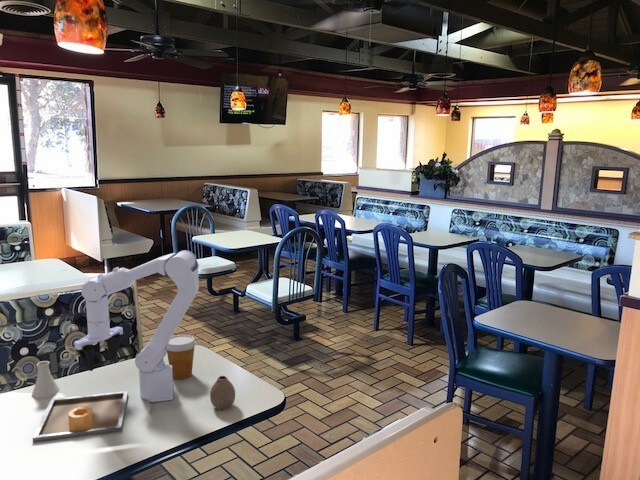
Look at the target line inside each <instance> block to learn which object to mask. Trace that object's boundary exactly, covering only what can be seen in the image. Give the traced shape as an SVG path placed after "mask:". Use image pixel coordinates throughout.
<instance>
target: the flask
mask: <svg viewBox="0 0 640 480" xmlns="http://www.w3.org/2000/svg"><path fill="white" fill-rule="evenodd" d="M36 367H37V377H36V380H35V384H34V387H33V391H32V392H31V397H32V398H36V399H48V398H50V397H53V396H56V395H57V394H58V393H59V392H60V390H61V389H60V387H59V386H58V384H57V382H56V381H55V379H54V377H53V376H52V374H51V370H50V361H48V360H42V361H39V362H37V364H36Z"/></svg>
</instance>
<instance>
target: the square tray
mask: <svg viewBox="0 0 640 480" xmlns="http://www.w3.org/2000/svg"><path fill="white" fill-rule="evenodd" d="M118 397H123V399H122V404H121V409H120V414H119V419H118V423H117V426H110V427H102V428H94V429H86V430H78V431H70V432H61V433H53V434H45V435H41V433H42V431H43V429H44V427H45V425H46V423H47V420H48V418H49V416H50V414H51V412H52V410H53V407H54V405H55V404H63V403H72V402H81V401H90V400H99V399H108V398H118ZM128 397H129V391H128V390H123V391H115V392H105V393H97V394H86V395H76V396H69V397H58V398H51V399H50V401H49V403H48V405H47V407H46V409H45V411H44V413H43V416H42V418H41V419H40V422H39V424H38V426H37V428H36V430H35V432H34V434H33V436H32V443H33V444H34V442H36V443H43V442H42V441H44V442H51V441H50V440H52V441H58V439H60V440H67V439H66V438H68V439H75V438H74V437H76V438H83V437H82V436H84V437H91V436H90V435H92V436H98V434H99V435H106V433H107V434H113V433H114V432H115V433H121V432H122V430H123V425H122V424H123V423H124V418H125V412H126V409H125V408H126V407H127V402H128ZM92 415H93V411H92ZM115 433H114V434H115Z"/></svg>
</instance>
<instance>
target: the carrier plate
mask: <svg viewBox="0 0 640 480" xmlns="http://www.w3.org/2000/svg"><path fill="white" fill-rule="evenodd" d="M122 399H123V397H118V398H108V399H99V400H90V401H81V402H72V403H63V404H55V405H54V407H53V410H52V412H51V414H50V416H49V418H48V420H47V423H46V425H45V427H44V429H43V431H42V433H41V435H45V434H53V433H61V432H70V431H71V430H69V418H68V415H69V412H70V411H71V410H73V409H75V408H78V407H86V406H87V407H89V408H92V411H93V425H92V427H91V428H89V429H94V428H102V427H110V426H117V423H118V419H119V414H120V409H121V404H122ZM125 410H126V408H125ZM122 426H123V424H122ZM115 433H116V432H114V434H115ZM106 434H108V433H106ZM106 434H105V435H106ZM98 435H100V434H98ZM98 435H97V436H98ZM92 436H93V435H90V436H89V437H92ZM83 437H85V436H82V437H81V438H83ZM75 438H76V439H77V437H74V438H73V439H75ZM67 439H69V438H66V439H65V440H67ZM58 440H61V439H58ZM58 440H57V441H58ZM51 441H53V440H50V441H49V442H51ZM43 442H45V441H42V442H41V443H43ZM34 443H37V442H34ZM34 443H33V444H34Z"/></svg>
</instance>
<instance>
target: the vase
mask: <svg viewBox="0 0 640 480" xmlns="http://www.w3.org/2000/svg"><path fill="white" fill-rule="evenodd" d="M209 397H210V402H211V404H212V405H211V406H213V407H214V409H217V410H218V411H225V409H226V410H228V408H229V409H230V408H231V407H232V406H233V404H234V403H235V400H236V389H235V387H234V384H233V383H232V382H231V381H230V380H229V379H228V376H225V375H220V376H218V377H217V379H216V381H215V382H214V383H213V384H212V387H211V389H210V392H209Z"/></svg>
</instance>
